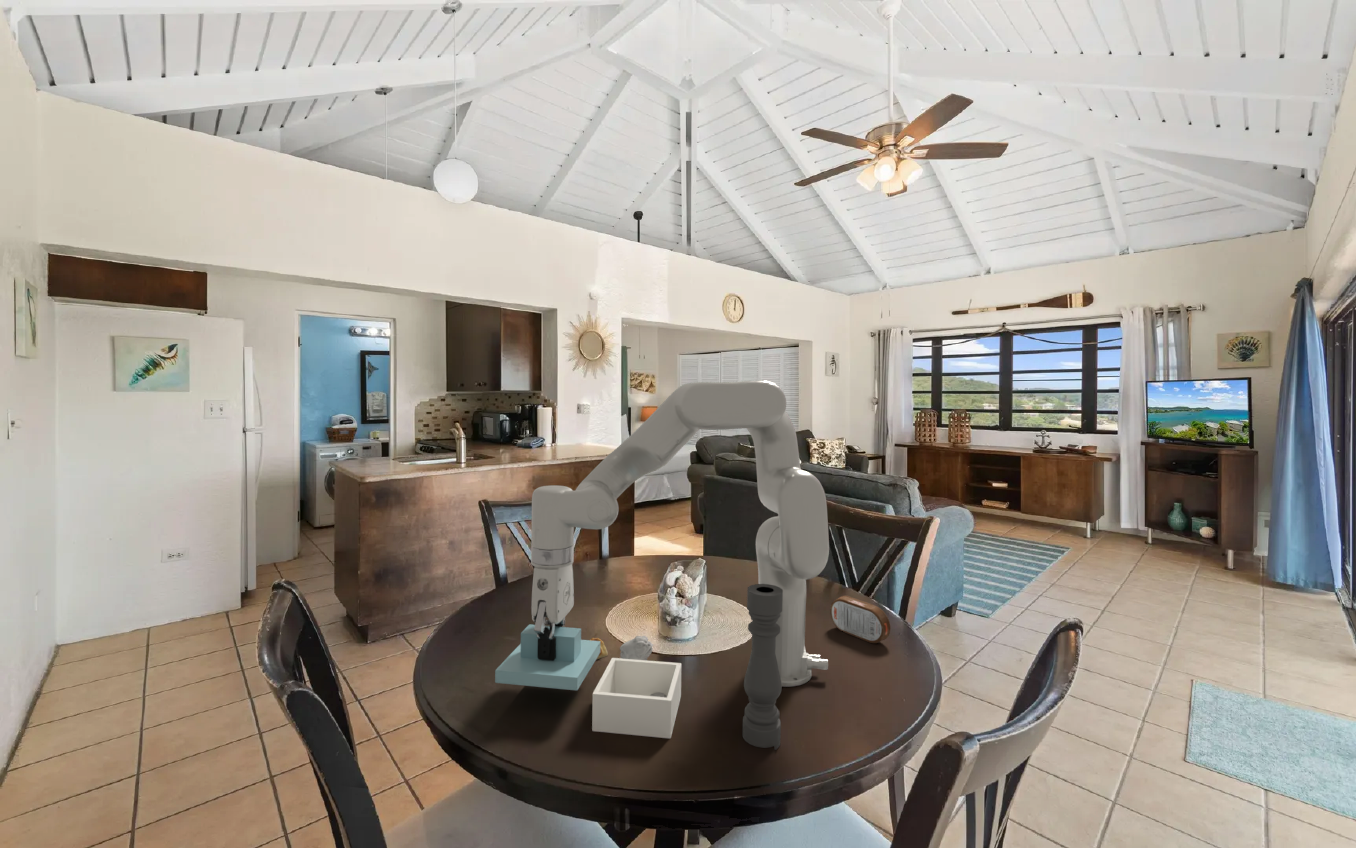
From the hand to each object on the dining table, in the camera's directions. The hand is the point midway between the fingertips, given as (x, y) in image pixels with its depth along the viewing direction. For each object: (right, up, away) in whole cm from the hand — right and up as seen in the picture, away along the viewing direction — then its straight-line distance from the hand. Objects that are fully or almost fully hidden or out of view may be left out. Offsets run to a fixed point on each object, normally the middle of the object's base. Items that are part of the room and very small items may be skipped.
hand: (551, 652), depth 105 cm
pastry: (+4, -8, +16) cm, 18 cm away
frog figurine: (+15, -8, +12) cm, 21 cm away
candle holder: (+37, -10, -11) cm, 40 cm away
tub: (+16, -9, -5) cm, 19 cm away
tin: (+65, -8, +30) cm, 73 cm away
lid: (0, -3, 0) cm, 3 cm away
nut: (+20, -8, -4) cm, 22 cm away
